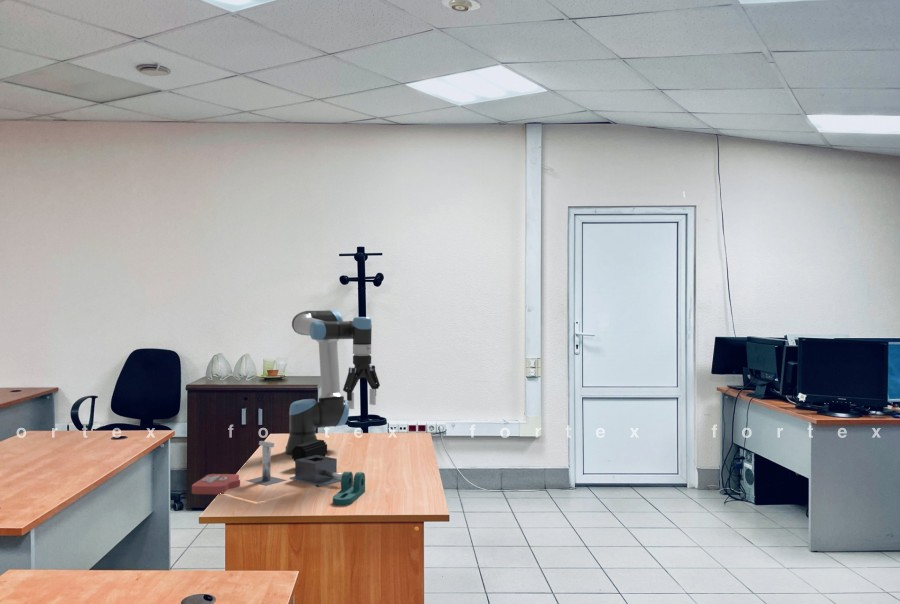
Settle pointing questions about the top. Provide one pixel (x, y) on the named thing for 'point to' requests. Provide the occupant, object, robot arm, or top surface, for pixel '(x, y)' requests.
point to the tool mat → (266, 483)
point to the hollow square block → (317, 470)
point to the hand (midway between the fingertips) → (361, 406)
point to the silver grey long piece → (266, 460)
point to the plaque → (215, 484)
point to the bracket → (350, 488)
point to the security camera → (309, 449)
